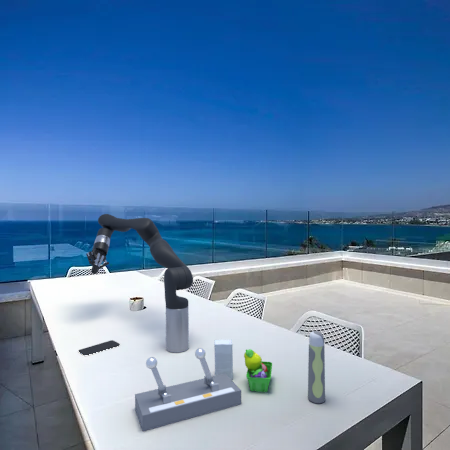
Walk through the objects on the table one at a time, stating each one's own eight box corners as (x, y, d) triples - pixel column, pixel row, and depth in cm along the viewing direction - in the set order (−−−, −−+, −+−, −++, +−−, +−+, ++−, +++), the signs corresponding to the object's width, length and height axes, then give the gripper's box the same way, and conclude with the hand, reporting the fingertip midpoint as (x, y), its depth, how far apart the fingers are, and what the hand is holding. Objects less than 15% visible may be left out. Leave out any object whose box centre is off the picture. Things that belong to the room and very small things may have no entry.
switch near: (158, 396, 91) (143, 358, 89) (168, 390, 92) (153, 352, 90) (162, 403, 87) (145, 364, 85) (172, 397, 88) (156, 358, 86)
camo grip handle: (306, 394, 98) (306, 329, 98) (323, 395, 98) (323, 329, 97) (309, 403, 93) (309, 334, 93) (326, 404, 93) (326, 335, 92)
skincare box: (232, 373, 112) (232, 339, 111) (232, 380, 107) (232, 344, 107) (214, 374, 111) (214, 339, 111) (214, 380, 107) (214, 344, 107)
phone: (77, 350, 131) (112, 339, 142) (77, 352, 131) (112, 341, 142) (84, 355, 126) (120, 344, 137) (84, 357, 126) (120, 346, 137)
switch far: (205, 385, 97) (191, 349, 95) (214, 379, 98) (200, 344, 96) (210, 391, 93) (196, 354, 91) (219, 386, 94) (205, 349, 92)
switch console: (135, 408, 92) (134, 387, 91) (225, 386, 103) (225, 367, 103) (142, 431, 82) (142, 407, 82) (241, 403, 94) (241, 383, 93)
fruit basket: (271, 395, 98) (271, 358, 98) (242, 392, 100) (241, 356, 99) (272, 376, 109) (272, 343, 109) (246, 374, 111) (246, 342, 111)
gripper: (96, 236, 165) (88, 264, 153) (116, 249, 173) (109, 276, 161) (86, 242, 168) (77, 269, 156) (106, 254, 176) (99, 281, 164)
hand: (94, 273), depth 159 cm, fingers closed
